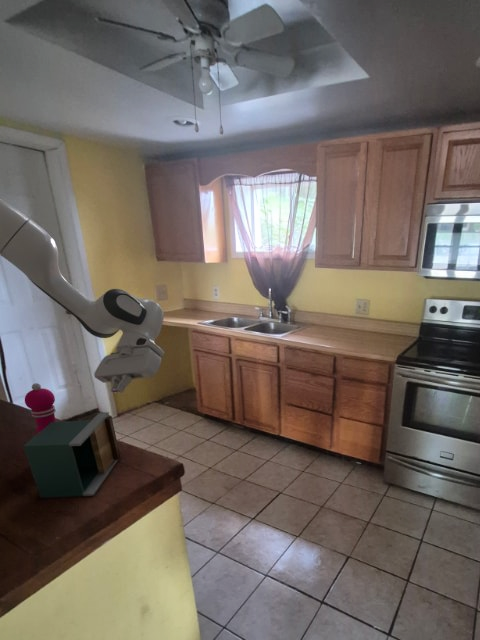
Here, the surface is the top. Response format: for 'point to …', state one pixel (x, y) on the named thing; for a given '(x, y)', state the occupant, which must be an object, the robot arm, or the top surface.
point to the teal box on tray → (66, 459)
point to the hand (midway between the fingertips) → (116, 392)
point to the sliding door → (105, 445)
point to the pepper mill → (41, 406)
